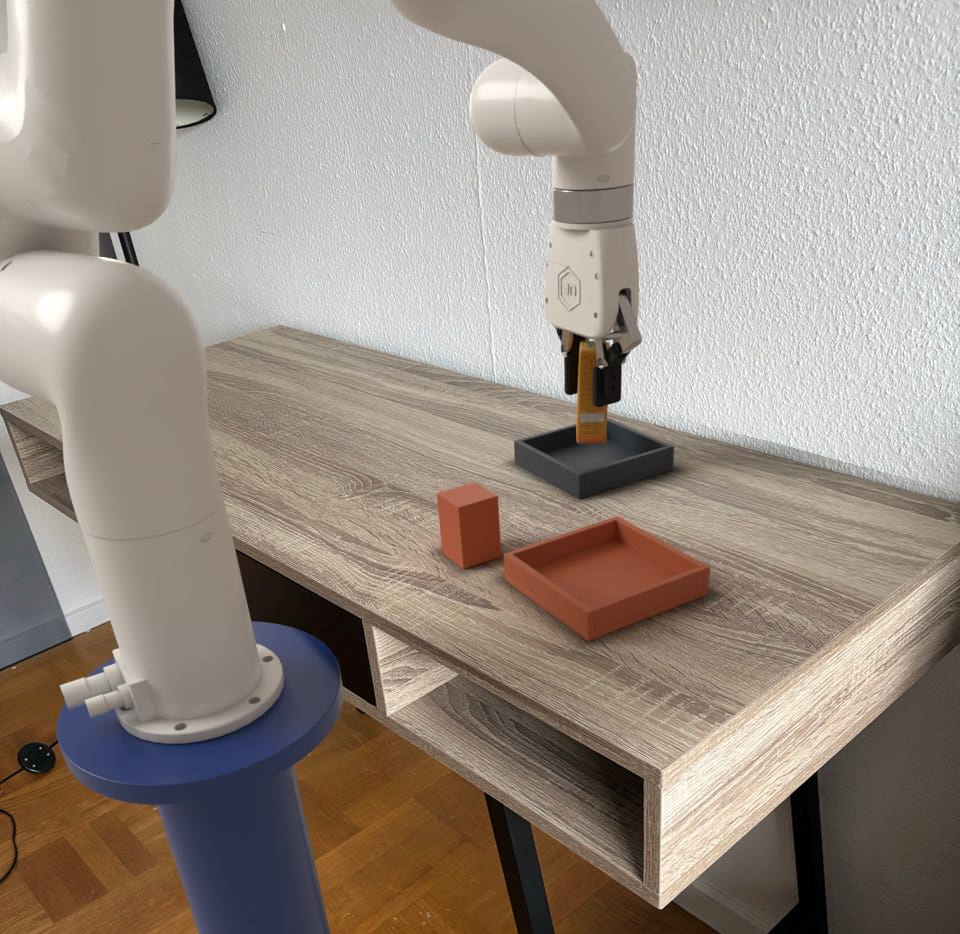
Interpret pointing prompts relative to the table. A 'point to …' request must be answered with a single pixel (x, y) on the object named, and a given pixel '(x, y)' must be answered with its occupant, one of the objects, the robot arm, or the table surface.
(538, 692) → the table surface
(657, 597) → the terracotta tray
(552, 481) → the slate tray
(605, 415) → the supplement box
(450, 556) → the terracotta block
